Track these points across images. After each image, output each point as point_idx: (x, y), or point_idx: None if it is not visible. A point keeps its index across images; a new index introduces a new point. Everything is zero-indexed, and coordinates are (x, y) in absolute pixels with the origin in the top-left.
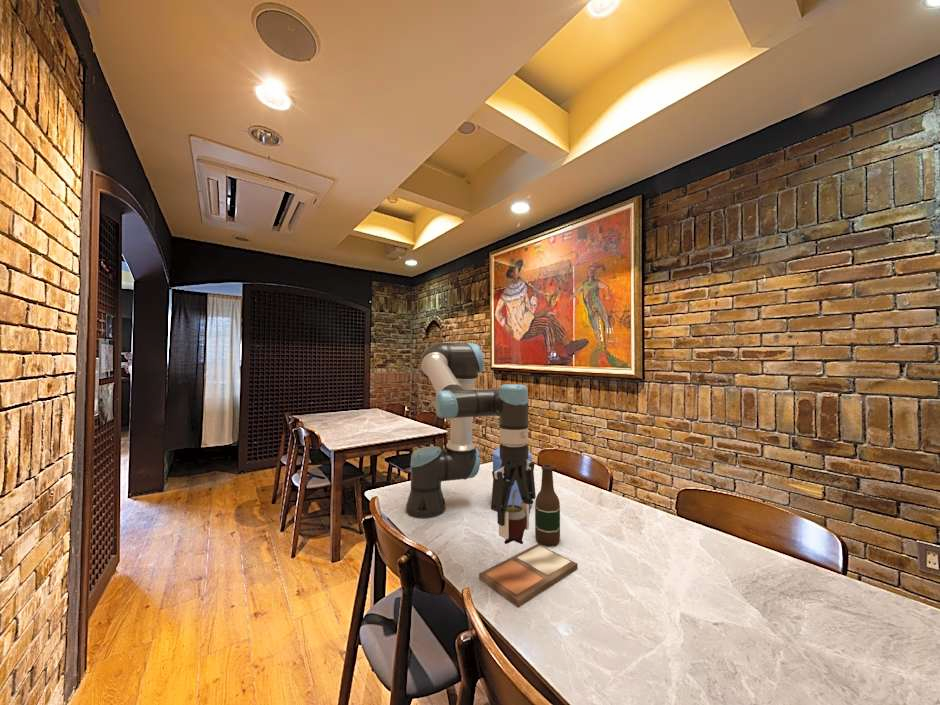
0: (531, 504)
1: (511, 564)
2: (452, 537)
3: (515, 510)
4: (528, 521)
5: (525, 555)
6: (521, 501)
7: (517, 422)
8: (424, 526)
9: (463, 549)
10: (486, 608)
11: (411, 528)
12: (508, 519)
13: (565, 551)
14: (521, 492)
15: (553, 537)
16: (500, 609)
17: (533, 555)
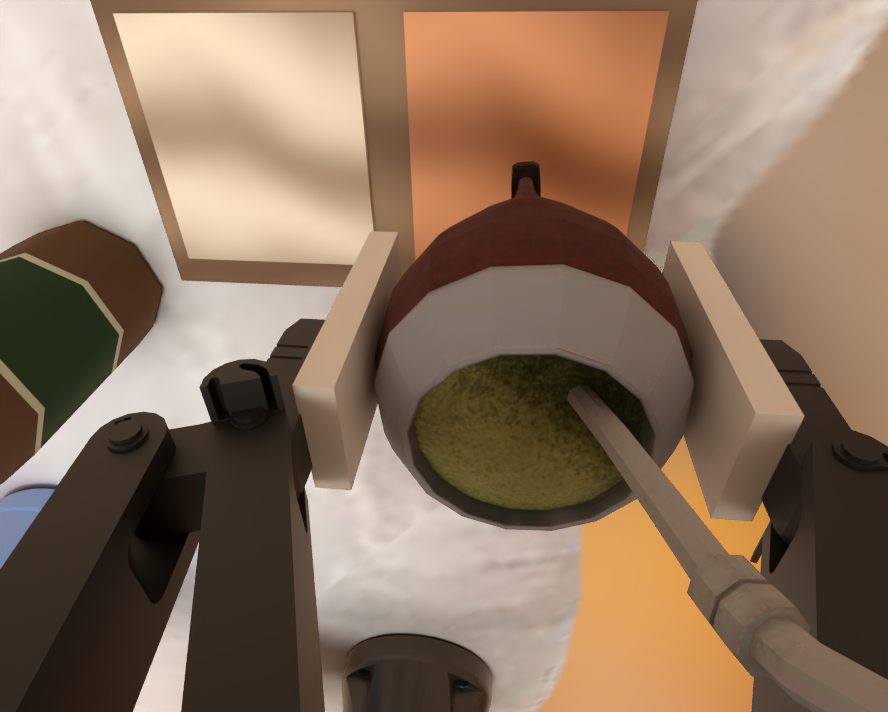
0: (2, 500)
1: None
2: (470, 533)
3: (503, 416)
4: (361, 267)
5: (323, 247)
6: (317, 484)
7: None
8: (500, 620)
9: None
10: (814, 91)
11: (545, 634)
12: (726, 348)
13: (63, 151)
14: (311, 598)
15: (69, 248)
16: (776, 27)
17: (284, 218)
